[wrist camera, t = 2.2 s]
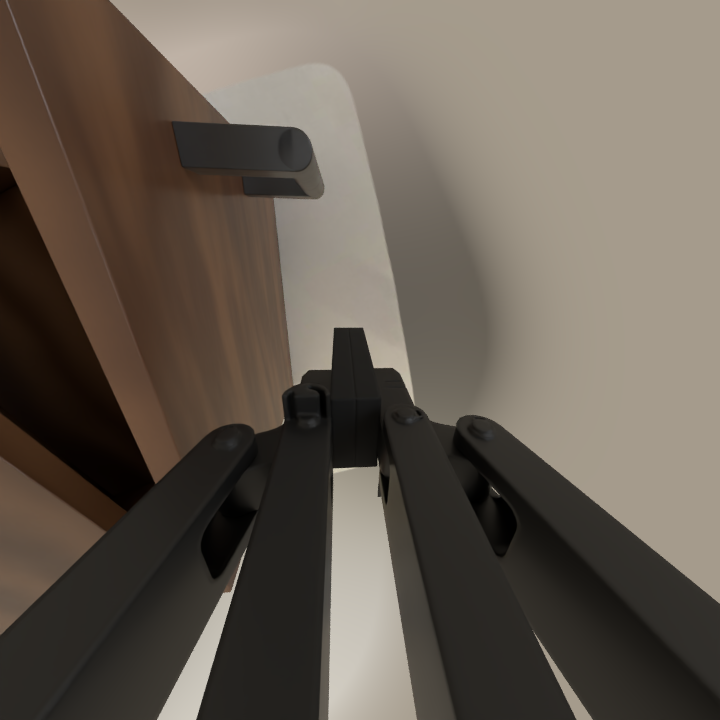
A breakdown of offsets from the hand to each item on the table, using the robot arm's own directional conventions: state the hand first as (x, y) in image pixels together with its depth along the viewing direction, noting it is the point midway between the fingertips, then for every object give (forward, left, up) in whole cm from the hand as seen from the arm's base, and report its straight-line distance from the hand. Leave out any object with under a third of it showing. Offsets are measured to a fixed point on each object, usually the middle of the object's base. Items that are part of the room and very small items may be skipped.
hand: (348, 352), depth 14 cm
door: (-1, -5, -20) cm, 21 cm away
